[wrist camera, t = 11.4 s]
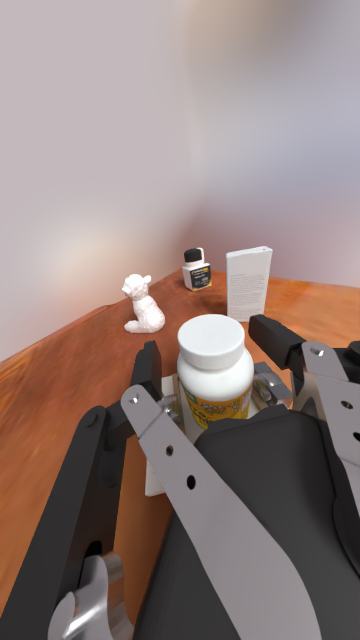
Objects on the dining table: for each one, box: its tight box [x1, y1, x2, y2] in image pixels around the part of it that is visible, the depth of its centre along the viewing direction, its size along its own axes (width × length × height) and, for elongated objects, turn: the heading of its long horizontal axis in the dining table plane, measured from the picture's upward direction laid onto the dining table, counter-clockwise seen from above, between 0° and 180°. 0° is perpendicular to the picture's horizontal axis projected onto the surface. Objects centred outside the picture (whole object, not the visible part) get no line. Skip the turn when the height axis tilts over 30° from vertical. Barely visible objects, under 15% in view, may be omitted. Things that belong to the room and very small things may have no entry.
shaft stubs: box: [157, 362, 293, 424], centre depth 12 cm, size 13×4×2 cm, turn 98°
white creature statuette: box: [122, 274, 165, 334], centre depth 27 cm, size 10×9×12 cm
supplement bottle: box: [177, 314, 254, 431], centre depth 10 cm, size 5×5×10 cm
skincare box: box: [226, 246, 273, 322], centre depth 23 cm, size 6×4×12 cm
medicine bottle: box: [182, 248, 211, 291], centre depth 43 cm, size 7×7×12 cm
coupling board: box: [145, 373, 269, 497], centre depth 13 cm, size 13×9×2 cm
